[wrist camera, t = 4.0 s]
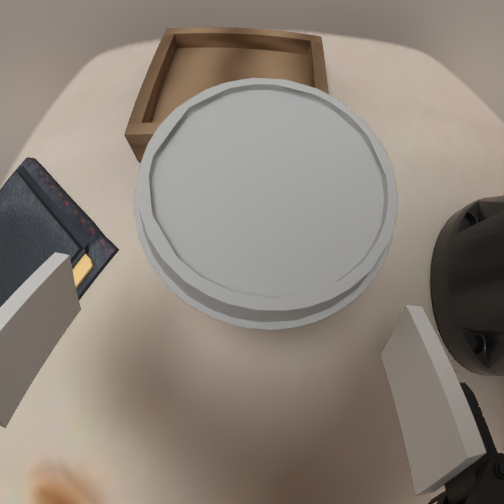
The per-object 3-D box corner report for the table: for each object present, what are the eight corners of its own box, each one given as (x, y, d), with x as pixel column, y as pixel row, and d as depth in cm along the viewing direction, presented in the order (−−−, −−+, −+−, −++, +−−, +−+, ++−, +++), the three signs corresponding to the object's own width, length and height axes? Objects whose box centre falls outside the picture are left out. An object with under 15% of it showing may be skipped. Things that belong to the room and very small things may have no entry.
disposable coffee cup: (270, 173, 23) (294, 45, 11) (350, 278, 21) (454, 216, 10) (158, 242, 21) (84, 146, 10) (235, 361, 19) (229, 395, 8)
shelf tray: (313, 64, 26) (321, 36, 23) (320, 173, 23) (332, 146, 20) (171, 57, 26) (166, 28, 23) (138, 162, 23) (124, 134, 19)
